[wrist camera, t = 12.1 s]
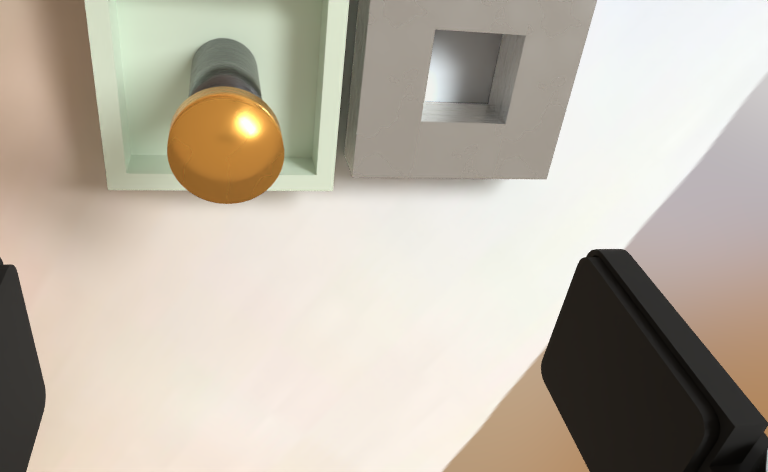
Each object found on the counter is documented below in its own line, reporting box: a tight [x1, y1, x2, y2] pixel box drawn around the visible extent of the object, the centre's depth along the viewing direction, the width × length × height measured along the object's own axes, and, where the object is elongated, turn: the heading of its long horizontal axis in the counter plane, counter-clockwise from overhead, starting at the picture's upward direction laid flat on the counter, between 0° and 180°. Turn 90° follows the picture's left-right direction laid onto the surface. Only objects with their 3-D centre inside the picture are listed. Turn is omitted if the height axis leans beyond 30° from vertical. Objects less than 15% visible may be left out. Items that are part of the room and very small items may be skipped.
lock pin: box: [167, 38, 284, 204], centre depth 30 cm, size 5×5×10 cm
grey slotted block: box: [344, 0, 597, 179], centre depth 36 cm, size 12×12×3 cm
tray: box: [84, 0, 349, 191], centre depth 34 cm, size 12×12×3 cm
